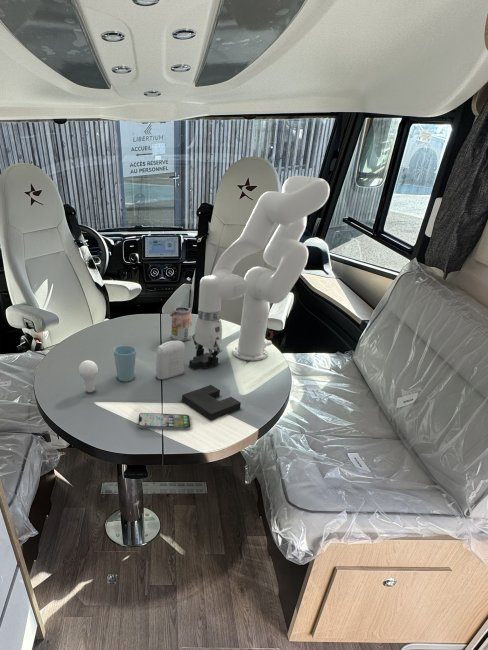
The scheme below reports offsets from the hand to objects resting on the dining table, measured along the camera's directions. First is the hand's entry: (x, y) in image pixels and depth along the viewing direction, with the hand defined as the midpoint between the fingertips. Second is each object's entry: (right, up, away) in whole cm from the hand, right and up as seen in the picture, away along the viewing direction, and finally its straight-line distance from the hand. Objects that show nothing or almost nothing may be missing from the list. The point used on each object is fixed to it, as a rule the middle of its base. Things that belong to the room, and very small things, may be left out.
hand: (205, 362), depth 162 cm
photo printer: (-13, -6, -7) cm, 16 cm away
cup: (-29, -7, -9) cm, 31 cm away
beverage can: (-8, +14, +21) cm, 26 cm away
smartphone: (-16, -25, -32) cm, 44 cm away
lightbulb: (-40, -13, -17) cm, 46 cm away
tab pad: (-1, -1, 0) cm, 2 cm away
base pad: (-1, -18, -24) cm, 30 cm away
